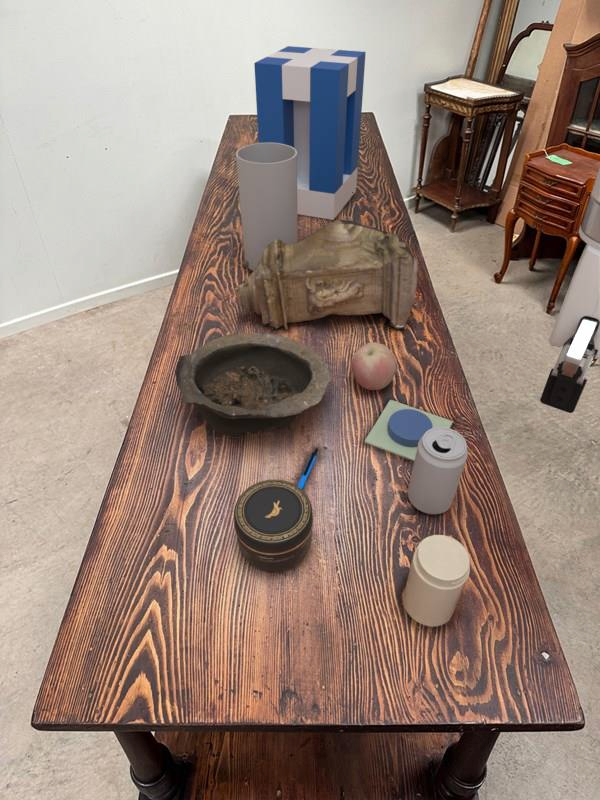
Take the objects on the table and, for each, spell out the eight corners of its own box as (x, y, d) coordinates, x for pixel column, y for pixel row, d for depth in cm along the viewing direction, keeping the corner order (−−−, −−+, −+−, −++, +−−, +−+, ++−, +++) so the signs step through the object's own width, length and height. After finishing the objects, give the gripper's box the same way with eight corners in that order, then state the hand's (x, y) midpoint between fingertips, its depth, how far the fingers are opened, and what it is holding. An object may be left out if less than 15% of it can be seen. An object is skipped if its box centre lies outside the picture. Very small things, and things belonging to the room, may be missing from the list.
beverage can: (398, 500, 77) (409, 444, 69) (421, 474, 81) (435, 417, 72) (437, 525, 74) (454, 469, 66) (460, 496, 77) (479, 440, 69)
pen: (319, 451, 84) (319, 446, 83) (274, 554, 71) (274, 549, 70) (314, 450, 84) (314, 445, 84) (268, 552, 71) (268, 547, 70)
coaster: (452, 422, 88) (453, 421, 88) (431, 468, 81) (431, 466, 81) (389, 401, 92) (390, 399, 92) (364, 442, 85) (364, 440, 85)
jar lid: (378, 433, 86) (380, 426, 85) (401, 410, 90) (402, 402, 89) (417, 454, 83) (419, 447, 82) (439, 428, 87) (440, 421, 86)
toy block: (356, 190, 159) (365, 51, 135) (333, 219, 144) (339, 70, 121) (290, 181, 164) (288, 46, 140) (262, 208, 150) (254, 62, 126)
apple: (358, 365, 99) (361, 330, 94) (398, 376, 97) (404, 340, 92) (343, 392, 94) (346, 356, 88) (385, 404, 92) (391, 368, 86)
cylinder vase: (255, 247, 133) (248, 140, 116) (303, 253, 131) (303, 145, 114) (237, 272, 124) (227, 160, 107) (289, 279, 122) (287, 166, 105)
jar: (313, 513, 75) (314, 479, 70) (310, 579, 68) (311, 546, 63) (243, 510, 76) (238, 475, 71) (232, 575, 69) (226, 542, 63)
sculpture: (424, 238, 93) (223, 256, 94) (418, 334, 106) (242, 348, 108) (407, 198, 106) (232, 214, 108) (404, 287, 119) (248, 300, 121)
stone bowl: (177, 463, 82) (166, 417, 76) (190, 368, 101) (182, 326, 95) (338, 451, 83) (340, 404, 77) (320, 360, 102) (321, 317, 97)
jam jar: (460, 592, 67) (479, 546, 60) (445, 636, 63) (463, 592, 56) (413, 570, 69) (425, 523, 62) (395, 611, 65) (406, 566, 58)
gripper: (607, 180, 51) (555, 328, 63) (557, 252, 41) (506, 414, 53) (696, 195, 48) (625, 349, 60) (667, 278, 38) (587, 445, 49)
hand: (569, 379), depth 56 cm, fingers open, 9 cm apart
